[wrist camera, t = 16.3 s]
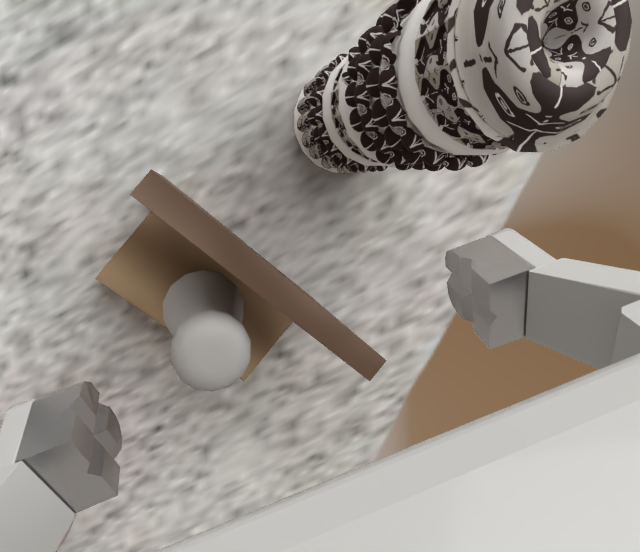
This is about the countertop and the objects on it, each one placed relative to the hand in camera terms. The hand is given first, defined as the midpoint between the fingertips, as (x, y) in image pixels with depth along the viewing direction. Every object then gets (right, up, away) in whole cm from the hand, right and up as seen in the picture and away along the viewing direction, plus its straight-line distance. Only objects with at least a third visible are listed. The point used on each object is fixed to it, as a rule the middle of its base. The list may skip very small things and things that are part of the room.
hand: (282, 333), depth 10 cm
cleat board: (-8, +1, +29) cm, 30 cm away
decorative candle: (+3, +14, +30) cm, 33 cm away
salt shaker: (-8, -1, +27) cm, 28 cm away
